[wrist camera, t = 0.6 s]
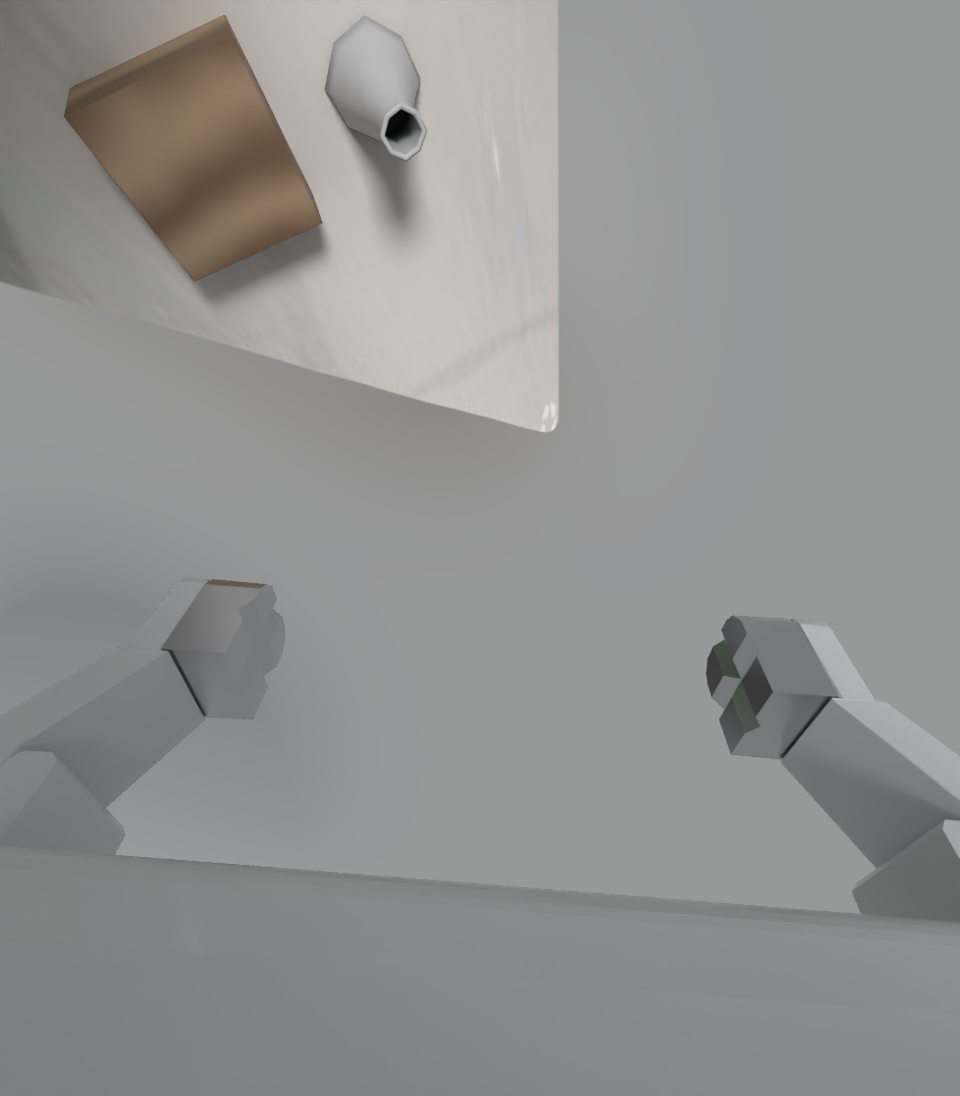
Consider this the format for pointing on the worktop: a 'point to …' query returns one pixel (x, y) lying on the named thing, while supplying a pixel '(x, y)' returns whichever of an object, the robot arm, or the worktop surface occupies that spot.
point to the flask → (377, 87)
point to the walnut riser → (196, 149)
